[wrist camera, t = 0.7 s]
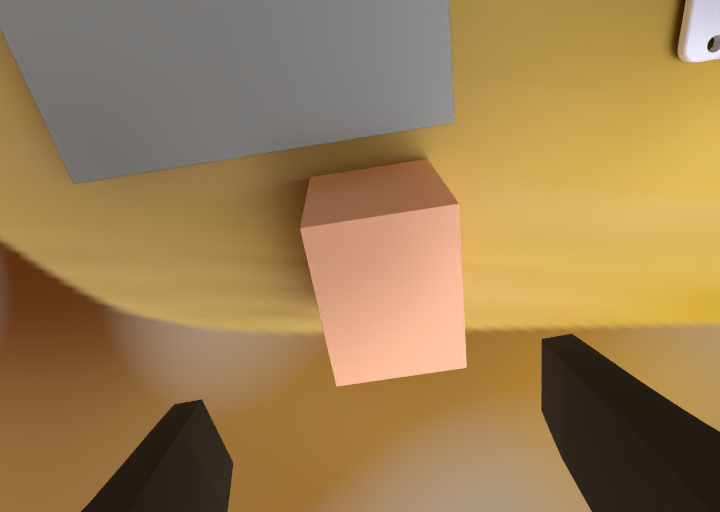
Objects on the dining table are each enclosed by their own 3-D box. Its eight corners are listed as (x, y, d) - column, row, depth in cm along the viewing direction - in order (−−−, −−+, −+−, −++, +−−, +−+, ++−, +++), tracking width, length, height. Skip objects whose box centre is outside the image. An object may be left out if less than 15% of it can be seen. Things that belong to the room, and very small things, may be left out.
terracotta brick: (426, 157, 17) (458, 203, 12) (437, 290, 19) (466, 367, 15) (310, 176, 17) (299, 228, 12) (336, 305, 19) (336, 386, 15)
